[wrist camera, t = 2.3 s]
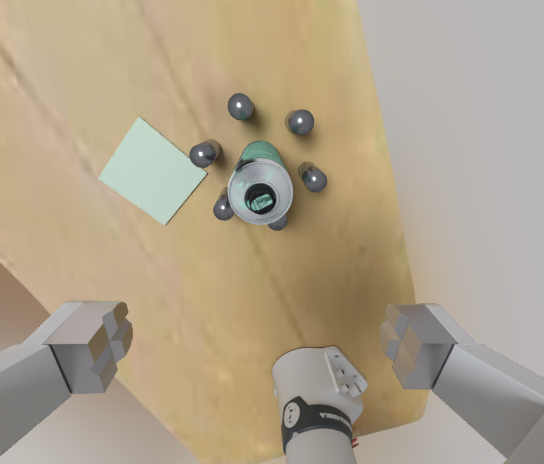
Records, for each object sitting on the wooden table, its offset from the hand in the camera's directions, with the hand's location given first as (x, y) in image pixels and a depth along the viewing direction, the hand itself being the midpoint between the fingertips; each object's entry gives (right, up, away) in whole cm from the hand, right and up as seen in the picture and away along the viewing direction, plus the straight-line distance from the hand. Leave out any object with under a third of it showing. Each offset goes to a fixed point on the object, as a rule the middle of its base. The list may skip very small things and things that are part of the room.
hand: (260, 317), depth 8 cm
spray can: (-1, +13, +29) cm, 32 cm away
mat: (-17, +11, +29) cm, 35 cm away
